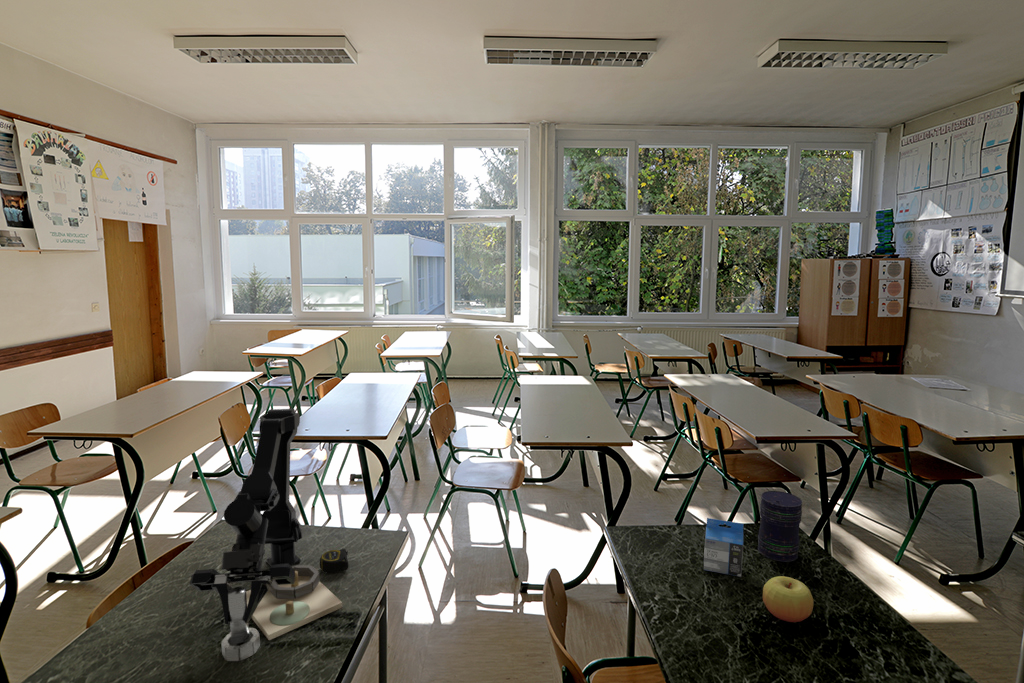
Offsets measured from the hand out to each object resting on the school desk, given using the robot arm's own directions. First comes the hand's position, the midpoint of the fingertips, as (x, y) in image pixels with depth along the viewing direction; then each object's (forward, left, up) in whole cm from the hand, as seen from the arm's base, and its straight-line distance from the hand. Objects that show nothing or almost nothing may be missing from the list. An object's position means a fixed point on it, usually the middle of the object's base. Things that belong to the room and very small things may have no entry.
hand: (236, 623), depth 109 cm
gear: (-1, +1, -7) cm, 7 cm away
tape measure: (-16, +29, -7) cm, 34 cm away
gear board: (-10, +14, -7) cm, 18 cm away
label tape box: (+51, +98, -7) cm, 110 cm away
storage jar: (+57, +117, -7) cm, 130 cm away
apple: (+69, +91, -7) cm, 114 cm away
